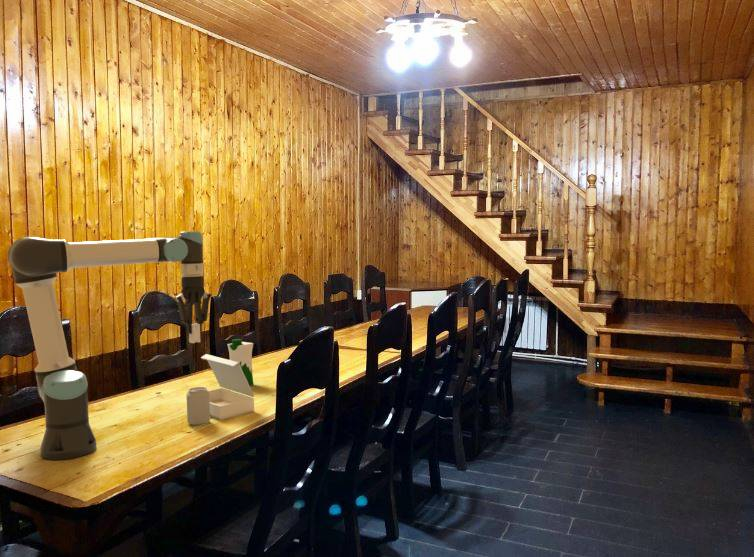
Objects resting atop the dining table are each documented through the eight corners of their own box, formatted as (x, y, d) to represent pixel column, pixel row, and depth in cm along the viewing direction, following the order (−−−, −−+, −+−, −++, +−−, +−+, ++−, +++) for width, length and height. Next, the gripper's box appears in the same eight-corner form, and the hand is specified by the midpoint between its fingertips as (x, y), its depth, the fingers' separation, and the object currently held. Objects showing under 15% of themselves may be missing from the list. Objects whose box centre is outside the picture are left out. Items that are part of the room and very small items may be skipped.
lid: (233, 366, 221) (238, 362, 223) (200, 357, 237) (205, 354, 238) (249, 400, 227) (254, 396, 228) (216, 389, 242) (221, 385, 244)
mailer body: (220, 420, 219) (219, 406, 218) (188, 408, 234) (187, 394, 234) (254, 411, 229) (253, 398, 228) (221, 400, 244) (221, 387, 244)
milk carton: (226, 386, 266) (225, 339, 264) (241, 382, 273) (240, 336, 271) (241, 389, 261) (240, 341, 259) (257, 384, 268) (255, 338, 267)
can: (203, 427, 212) (202, 391, 211) (183, 425, 213) (182, 391, 212) (213, 420, 219) (212, 386, 218) (194, 419, 221) (192, 385, 220)
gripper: (178, 277, 213) (181, 346, 215) (216, 274, 223) (218, 340, 225) (167, 276, 218) (170, 343, 220) (205, 273, 228) (207, 338, 230)
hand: (194, 342), depth 222 cm, fingers closed
